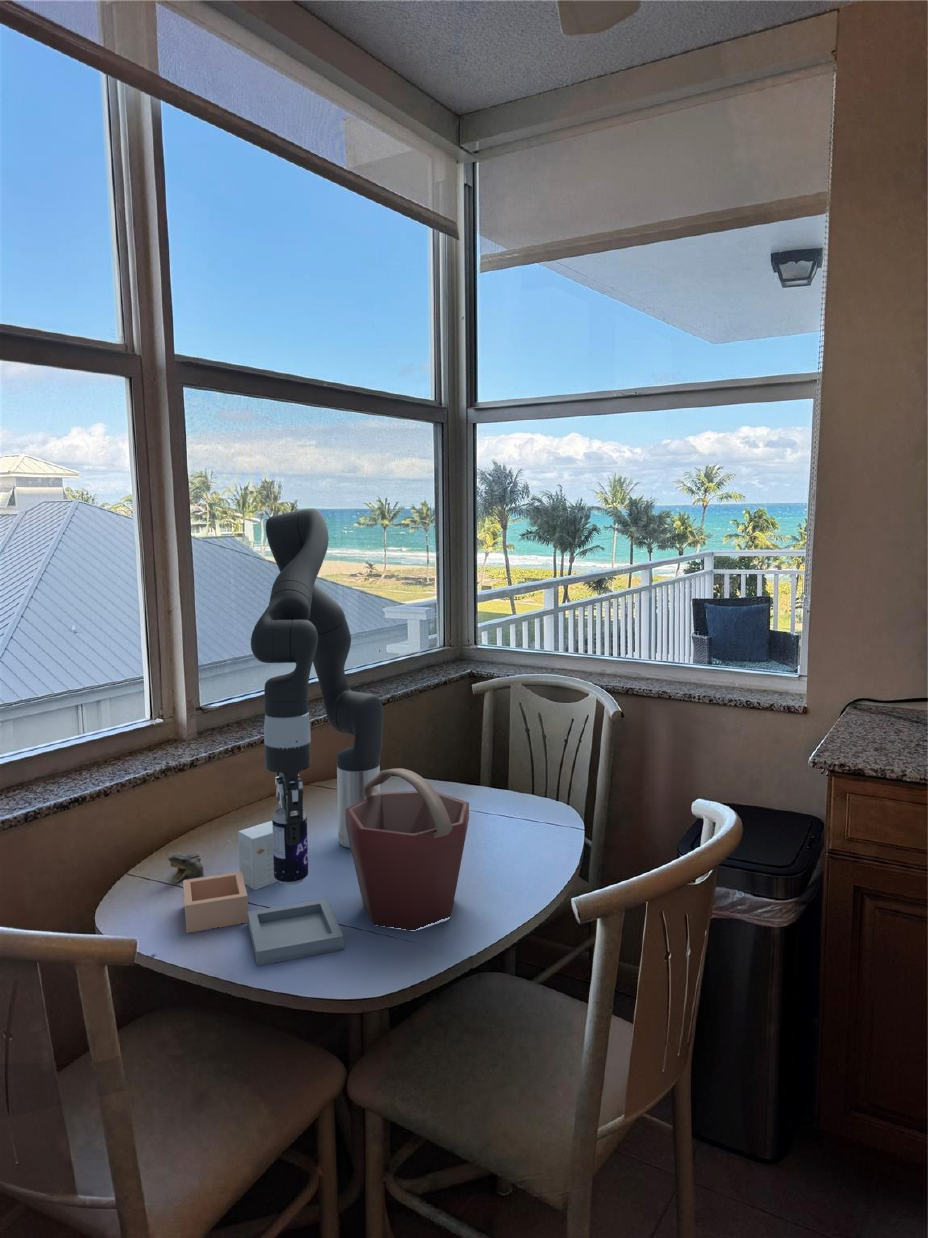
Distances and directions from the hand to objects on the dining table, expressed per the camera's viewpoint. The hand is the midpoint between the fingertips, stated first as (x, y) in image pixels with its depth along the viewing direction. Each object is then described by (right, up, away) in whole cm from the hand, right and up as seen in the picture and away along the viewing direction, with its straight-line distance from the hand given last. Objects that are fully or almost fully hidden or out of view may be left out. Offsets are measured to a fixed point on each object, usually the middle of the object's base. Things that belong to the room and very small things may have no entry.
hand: (290, 836), depth 138 cm
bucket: (+20, -17, +13) cm, 29 cm away
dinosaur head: (-27, -15, +24) cm, 39 cm away
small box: (-10, -15, +24) cm, 30 cm away
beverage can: (0, -8, +1) cm, 8 cm away
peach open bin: (-16, -17, +10) cm, 25 cm away
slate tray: (0, -18, +2) cm, 18 cm away
